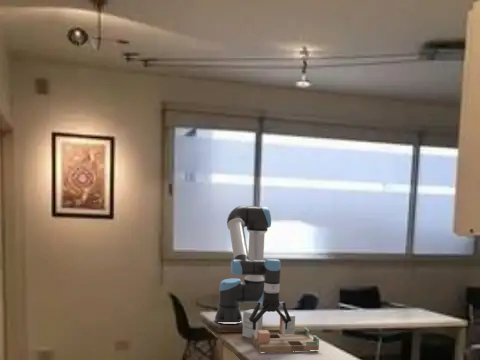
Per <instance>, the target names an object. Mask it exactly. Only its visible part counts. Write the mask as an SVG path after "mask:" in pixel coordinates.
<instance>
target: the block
mask: <svg viewBox="0 0 480 360" xmlns="http://www.w3.org/2000/svg"><path fill="white" fill-rule="evenodd" d="M270 334H271V332H270V331H269V330H268V329H262V330H257V339H258V341H259V342H270Z"/></svg>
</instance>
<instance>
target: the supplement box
mask: <svg viewBox="0 0 480 360" xmlns="http://www.w3.org/2000/svg"><path fill="white" fill-rule="evenodd" d="M254 309H255V308H250V309H247V310H244V311H243V314H242V337H245V338H248V339H251V340H252V335H253V334H254V330H253V322H250V320H249V318H250V316H251V315H252V313H253V311H254ZM260 311H261V310H258V312H257V314H256V316H257V315H258V313H259V312H260ZM263 315H264V314H263ZM263 315H262V316H261V318H260V319H259V320H258V321H257V323H258V330H263V319H264V318H263ZM256 316H255V317H256Z"/></svg>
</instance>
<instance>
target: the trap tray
mask: <svg viewBox="0 0 480 360" xmlns="http://www.w3.org/2000/svg"><path fill="white" fill-rule="evenodd" d="M251 342H252V344H253V345H254V346H255V348H256V349H257V350H258V351H259V353H260V352H285V353H296V352H295V351H310V350H319V349H320V338H319V337H318V336H317V335H316V334H315V335H314V334H313V336H312V338H311V337H310V329H308V328H307V327H304V328H303V330H294V334H285V337H283V336H282V334H281V333H270V342H259V341H258V339H257V337H255V336H254V334H253V335H252V339H251ZM293 351H294V352H293Z"/></svg>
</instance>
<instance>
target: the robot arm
mask: <svg viewBox="0 0 480 360" xmlns="http://www.w3.org/2000/svg"><path fill="white" fill-rule="evenodd" d="M271 216H272V215H271V211H270V209H269V208H268V207H267V206H263V205H262V206H261V205H258V206H257V205H239V206H236V207H235V208H234V209H232V210H231V211H230V212H229V214H228V217H227V221H226V226H227V229H228V230H229V234H230V241H231V249H232V254H233V259H231V260H230V272H231V274H232V275H235V276H245V277H243V278H244V280H243V281H242V280H241V279H240V278H234V277H232V278H231V277H230V278H227V279H226V278H225V279H223V280H221V281H220V283H219V288H218V291H219V292H218V293H219V295H218V296H219V297H218V299H219V300H218V308H217V311H216V313H215V317H214V322H215V321H216V322H215V323H217V322H240V321H242V322H243V315H242V312H241V309H240V304H242V303H246V304H248V303H250V304H252V303H253V304H256V305H255V307H254V308H253V309H254V311H253V313H252V315H251V316H250V318H249V320H250V322H253V330H254V336H255V337H257V330H258V323H257V321H258V320H259V319H260V318H261V316H262V315H264V314H266V312H268V313H270V312H273V313H274V312H276V313H277V314H278V315H279V318H280V317H281V318H282V319H283V320H284V322H282V336H283V337H285V329H287V323H288V322H289V321H291V318H290V316H289V313H288V312H289V311H288V309H287V307H286V302H285V301H283V300H282V301H280V286H281V285H280V283H281V282H280V281H281V266H282V265H281V260H280V259H277V258H264V255H265V253H264V252H265V234H266V233H267V232H268V228H270V227H271V226H272V217H271ZM245 227H246V231H247V232H248V233H249V234H248V245H247V240H246V239H247V238H246V233H245ZM247 246H248V247H247ZM262 306H263V307H262ZM280 306H281V308H282V310H283V312H284V313H285V315H286V317H287V319H286V318H285V317H284V316H283V314H282V313H281V310H280V309H279V307H280ZM261 307H262V309H261V310H260V308H261ZM258 311H260V312H259V313H258V315H257V316H256V314H257V312H258ZM255 316H256V317H255Z"/></svg>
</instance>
